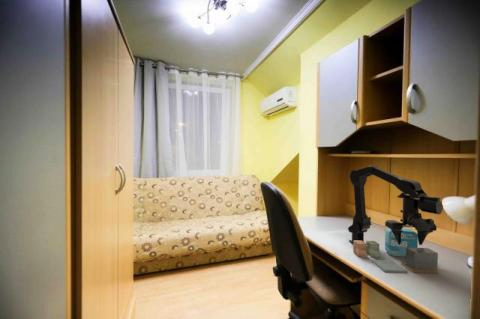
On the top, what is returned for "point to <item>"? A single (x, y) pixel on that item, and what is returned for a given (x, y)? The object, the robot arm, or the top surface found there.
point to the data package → (407, 241)
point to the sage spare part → (372, 248)
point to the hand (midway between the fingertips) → (409, 244)
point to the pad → (389, 266)
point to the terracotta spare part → (359, 248)
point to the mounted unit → (421, 260)
